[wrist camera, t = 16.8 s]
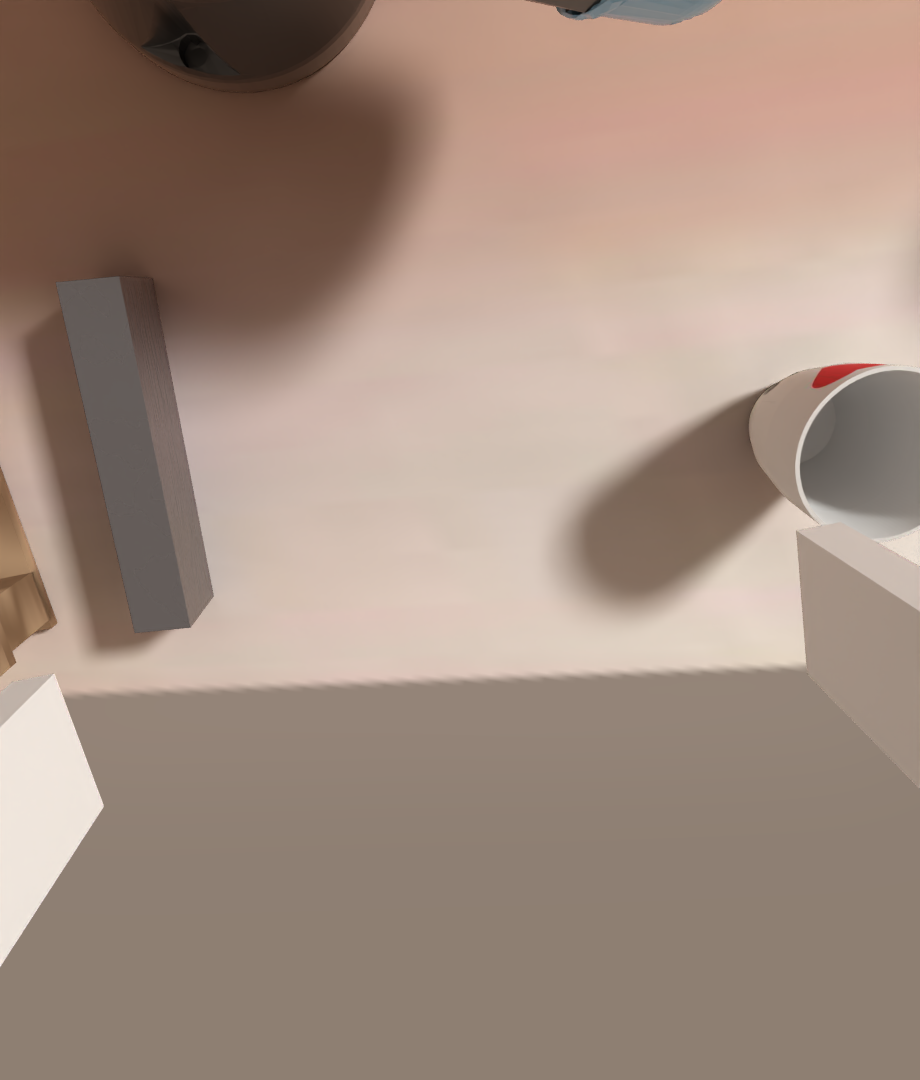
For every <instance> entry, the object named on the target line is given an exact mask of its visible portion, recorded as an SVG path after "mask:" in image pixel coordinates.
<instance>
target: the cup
mask: <svg viewBox="0 0 920 1080" xmlns="http://www.w3.org/2000/svg"><path fill="white" fill-rule="evenodd" d="M749 437H750V440H751V444H752V448H753V452H754V455H755V457H756V460H757V462H758V464H759V465H760V467H761V468H762V470H763V471H764V472H765V473H766V475H767V476H768V477H769V478H770V480H771V481H772V482H773V483H774V485H775V486H776V487H777V489H778V490H779V491H780V492H781V493H782V495H783V496H784V497H785V498H787V499H788V500H789V501H790V502H791V503H793V504H794V505H795V506H797V507H798V508H799V509H800V510H802V511H803V512H804V513H805V514H807V515H808V516H809V517H811V518H812V519H813V520H814V521H816V522H817V523H818V524H820V525H821V526H822V525H828V524H833V523H838V522H842V523H843V524H845V525H847V526H849V527H851V528H852V529H854V530H856V531H858V532H859V533H861V534H863V535H865V536H867V537H868V538H870V539H872V540H874V541H875V542H877V543H879V542H887V541H892V540H896V539H899V538H902V537H905V536H907V535H910V534H912V533H914V532H916V531H918V530H920V368H918V367H913V366H903V365H884V364H864V363H844V364H837V365H831V366H825V367H819V368H813V369H807V370H803V371H800V372H797V373H795V374H792V375H790V376H788V377H787V378H785V379H783V380H781V381H779V382H778V383H776V384H774V385H772V386H771V387H770V388H768V389H767V390H766V391H765V392H764V393H763V394H762V395H761V396H760V397H759V398H758V400H757V401H756V403H755V405H754V407H753V409H752V411H751V414H750V418H749Z"/></svg>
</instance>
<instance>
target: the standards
mask: <svg viewBox="0 0 920 1080" xmlns="http://www.w3.org/2000/svg"><path fill="white" fill-rule="evenodd" d="M56 624H57V620H56V618H55V615H54V612H53V609H52V607H51V604H50V601H49V599H48V596H47V593H46V590H45V588H44V585H43V582H42V579H41V577H40V574H39V571H38V568H37V566H36V563H35V560H34V557H33V555H32V552H31V549H30V547H29V544H28V541H27V538H26V536H25V533H24V530H23V527H22V525H21V522H20V519H19V516H18V514H17V511H16V508H15V505H14V503H13V500H12V497H11V494H10V492H9V489H8V486H7V484H6V481H5V478H4V475H3V473H2V470H1V467H0V676H1V675H3V674H4V673H5V672H6V671H7V670H8V669H9V668H11V667H12V666H13V665H14V664H15V663H16V661H15V658H14V655H13V653H12V651H13V650H14V649H15V648H16V647H18V646H19V645H20V644H21V643H22V642H24V641H25V640H26V639H27V638H28V637H29V636H31V635H32V634H33V633H34V632H35V631H40V630H45V629H50V628H52V627H53V626H55V625H56Z"/></svg>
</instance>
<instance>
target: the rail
mask: <svg viewBox="0 0 920 1080" xmlns="http://www.w3.org/2000/svg"><path fill="white" fill-rule="evenodd" d="M56 286H57V290H58V295H59V299H60V304H61V308H62V312H63V317H64V321H65V326H66V330H67V335H68V339H69V343H70V348H71V352H72V357H73V361H74V366H75V370H76V375H77V379H78V383H79V388H80V392H81V397H82V401H83V406H84V410H85V414H86V419H87V423H88V428H89V432H90V437H91V441H92V445H93V450H94V454H95V459H96V463H97V468H98V472H99V476H100V481H101V485H102V490H103V494H104V499H105V503H106V508H107V512H108V516H109V521H110V525H111V530H112V534H113V539H114V543H115V547H116V552H117V556H118V561H119V565H120V570H121V574H122V578H123V583H124V587H125V592H126V596H127V601H128V605H129V610H130V614H131V618H132V623H133V627H134V632H135V633H140V632H150V631H161V630H171V629H181V628H191V626H192V625H193V624H194V622H195V621H196V619H197V618H198V617H199V615H200V614H201V613H202V611H203V610H204V609H205V607H206V606H207V605H208V603H209V602H210V600H211V599H212V598H213V596H214V595H213V590H212V585H211V580H210V574H209V569H208V564H207V559H206V554H205V548H204V543H203V538H202V533H201V528H200V523H199V517H198V512H197V507H196V502H195V497H194V491H193V486H192V481H191V476H190V471H189V465H188V460H187V455H186V450H185V445H184V440H183V434H182V429H181V424H180V419H179V414H178V408H177V403H176V398H175V393H174V388H173V382H172V377H171V372H170V367H169V362H168V357H167V351H166V346H165V341H164V336H163V331H162V325H161V320H160V315H159V310H158V305H157V299H156V294H155V289H154V284H153V279H152V278H141V277H124V276H116V277H106V278H96V279H85V280H75V281H65V282H56Z"/></svg>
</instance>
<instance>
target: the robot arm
mask: <svg viewBox="0 0 920 1080" xmlns="http://www.w3.org/2000/svg"><path fill="white" fill-rule="evenodd" d="M374 1H375V0H91V2H92V3H93V5H94V6H95V7H96V9H97V10H98V11H99V12H100V14H101V15H102V16H103V17H104V18H105V20H106V21H107V22H108V23H109V24H110V25H111V26H112V27H113V28H114V29H115V30H116V31H117V32H118V33H119V34H120V35H121V36H122V37H123V38H124V39H125V40H126V41H128V42H129V43H130V44H131V45H132V46H133V47H135V48H136V49H137V50H138V51H139V52H141V53H142V54H143V55H144V56H146V57H147V58H148V59H150V60H151V61H152V62H154V63H155V64H156V65H158V66H160V67H161V68H163V69H164V70H166V71H168V72H170V73H171V74H173V75H175V76H177V77H179V78H181V79H184V80H186V81H188V82H191V83H194V84H196V85H199V86H203V87H206V88H210V89H215V90H220V91H228V92H259V91H266V90H271V89H276V88H280V87H283V86H286V85H289V84H292V83H294V82H296V81H299V80H301V79H303V78H305V77H307V76H309V75H311V74H312V73H314V72H315V71H317V70H319V69H320V68H322V67H323V66H324V65H326V64H327V63H328V62H330V61H331V60H332V59H333V58H334V57H335V56H336V55H337V54H339V52H340V51H341V50H342V49H343V48H344V47H345V46H346V45H347V44H348V43H349V42H350V40H351V39H352V38H353V37H354V35H355V34H356V33H357V31H358V30H359V28H360V27H361V25H362V24H363V22H364V20H365V19H366V17H367V15H368V13H369V12H370V10H371V8H372V6H373V3H374ZM526 1H531V2H536V3H541V4H545V5H550V6H555V7H556V8H557V11H558V12H559V13H560V14H561V15H563V16H565V17H567V18H570V19H574V20H583V19H595V18H598V17H600V16H601V17H608V18H614V19H620V20H627V21H633V22H640V23H646V24H652V25H672V24H676V23H679V22H682V21H683V20H688V19H691V18H693V17H694V16H697V15H701V14H703V13H705V12H707V11H709V10H710V9H712V8H713V7H714V6H716V5H717V4H718V3H719V2H721V1H722V0H526ZM796 534H797V547H798V560H799V573H800V586H801V599H802V612H803V625H804V638H805V651H806V664H807V674H808V675H809V676H810V677H811V678H812V679H813V680H814V682H815V683H816V684H818V686H819V687H820V688H822V690H823V691H824V692H825V693H826V694H827V695H828V696H829V697H830V698H831V699H832V700H833V701H834V702H835V703H836V704H837V705H838V706H839V707H840V708H841V709H842V710H843V711H844V712H845V713H846V714H847V715H848V716H849V717H850V718H851V719H852V720H853V721H854V722H855V723H856V724H857V725H858V726H859V727H860V728H861V729H862V730H863V731H864V732H865V733H866V734H867V736H868V737H869V738H870V739H871V740H872V741H873V742H874V743H875V744H876V745H877V746H878V747H879V748H880V749H881V750H882V751H883V752H884V753H885V754H886V755H887V756H888V757H889V758H890V759H891V760H892V761H893V762H894V763H895V764H896V765H897V766H898V767H899V768H900V769H901V770H902V771H903V772H904V773H905V774H906V775H907V776H908V777H909V778H910V779H911V780H912V781H913V782H914V784H916V786H917V787H918V788H919V789H920V566H918V565H916V564H915V563H913V562H911V561H909V560H908V559H906V558H904V557H902V556H900V555H899V554H897V553H895V552H893V551H892V550H890V549H888V548H886V547H884V546H883V545H881V544H879V543H877V542H875V541H874V540H872V539H870V538H868V537H867V536H865V535H863V534H861V533H859V532H858V531H856V530H854V529H852V528H851V527H849V526H847V525H845V524H843V523H842V522H838V523H833V524H828V525H822V526H817V527H812V528H807V529H802V530H797V531H796ZM103 807H104V805H103V803H102V800H101V798H100V795H99V792H98V789H97V786H96V784H95V781H94V779H93V776H92V773H91V771H90V768H89V765H88V763H87V760H86V757H85V754H84V752H83V749H82V746H81V744H80V741H79V738H78V736H77V733H76V730H75V728H74V725H73V723H72V720H71V717H70V714H69V712H68V709H67V706H66V704H65V701H64V698H63V696H62V693H61V690H60V688H59V685H58V682H57V679H56V677H55V674H49V675H44V676H39V677H34V678H28V679H23V680H18V681H13V682H11V683H10V684H9V685H8V686H7V687H6V688H5V689H4V690H2V691H1V692H0V966H1V964H2V963H3V961H4V960H5V958H6V957H7V955H8V953H9V952H10V950H11V949H12V947H13V946H14V944H15V943H16V941H17V940H18V938H19V937H20V935H21V933H22V932H23V930H24V929H25V927H26V926H27V924H28V923H29V921H30V919H31V918H32V916H33V915H34V913H35V912H36V910H37V909H38V907H39V906H40V904H41V903H42V901H43V900H44V898H45V896H46V895H47V893H48V892H49V890H50V889H51V887H52V886H53V884H54V883H55V881H56V879H57V878H58V876H59V875H60V873H61V871H62V870H63V869H64V867H65V866H66V864H67V862H68V861H69V859H70V858H71V856H72V855H73V853H74V851H75V850H76V848H77V847H78V845H79V844H80V842H81V841H82V839H83V838H84V836H85V835H86V833H87V831H88V830H89V828H90V827H91V825H92V824H93V822H94V821H95V819H96V817H97V816H98V815H99V813H100V811H101V810H102V808H103Z"/></svg>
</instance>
